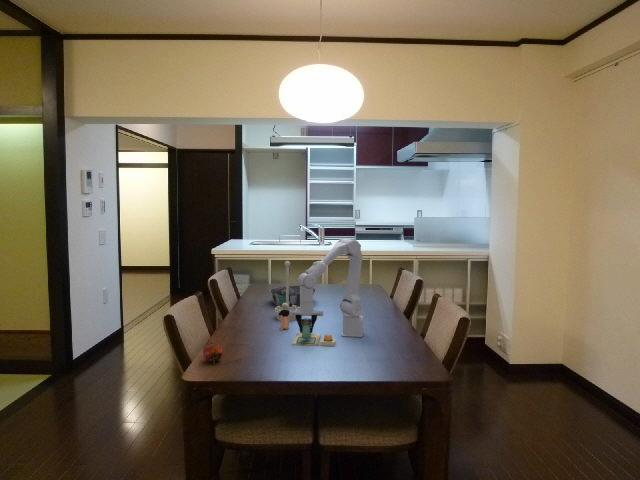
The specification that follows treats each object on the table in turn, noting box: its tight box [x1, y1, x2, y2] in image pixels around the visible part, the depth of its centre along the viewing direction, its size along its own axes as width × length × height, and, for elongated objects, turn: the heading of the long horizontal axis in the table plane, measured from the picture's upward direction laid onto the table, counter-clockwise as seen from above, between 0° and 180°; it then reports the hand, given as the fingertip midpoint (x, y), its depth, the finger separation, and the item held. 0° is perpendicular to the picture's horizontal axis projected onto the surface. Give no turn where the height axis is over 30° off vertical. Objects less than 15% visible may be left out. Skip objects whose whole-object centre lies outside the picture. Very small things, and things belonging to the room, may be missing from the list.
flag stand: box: [274, 260, 300, 322], centre depth 223 cm, size 13×13×30 cm
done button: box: [323, 333, 333, 342], centre depth 185 cm, size 3×3×2 cm
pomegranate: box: [202, 341, 224, 366], centre depth 163 cm, size 7×7×10 cm
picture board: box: [291, 332, 322, 347], centre depth 189 cm, size 11×14×1 cm
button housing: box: [319, 336, 336, 347], centre depth 185 cm, size 6×6×2 cm
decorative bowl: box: [269, 285, 316, 307], centre depth 255 cm, size 26×28×10 cm
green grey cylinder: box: [302, 317, 312, 339], centre depth 186 cm, size 4×4×8 cm
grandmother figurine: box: [276, 303, 294, 331], centre depth 205 cm, size 8×4×13 cm, turn 105°
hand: (306, 332), depth 186 cm, fingers closed on green grey cylinder, 4 cm apart
